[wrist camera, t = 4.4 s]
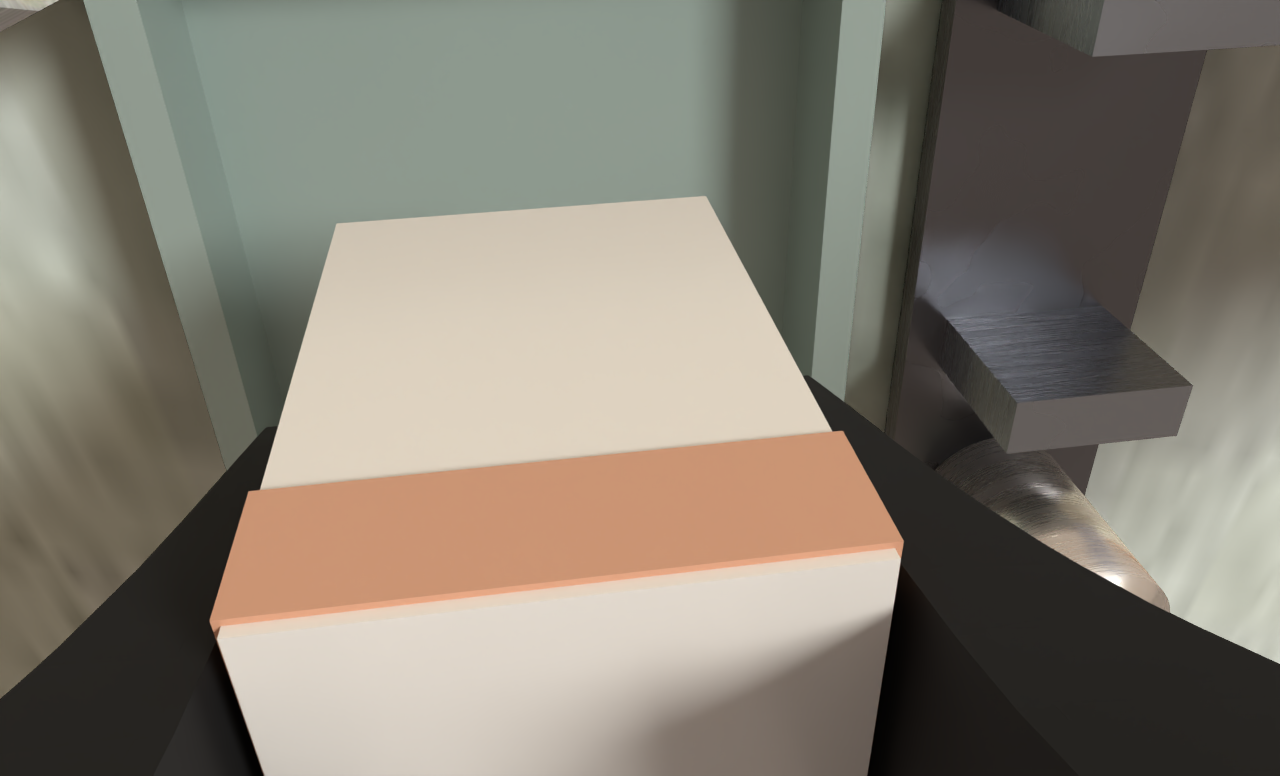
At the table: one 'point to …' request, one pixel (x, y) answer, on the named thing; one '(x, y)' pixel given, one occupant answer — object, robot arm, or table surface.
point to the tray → (482, 146)
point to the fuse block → (1048, 251)
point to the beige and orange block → (555, 516)
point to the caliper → (19, 10)
